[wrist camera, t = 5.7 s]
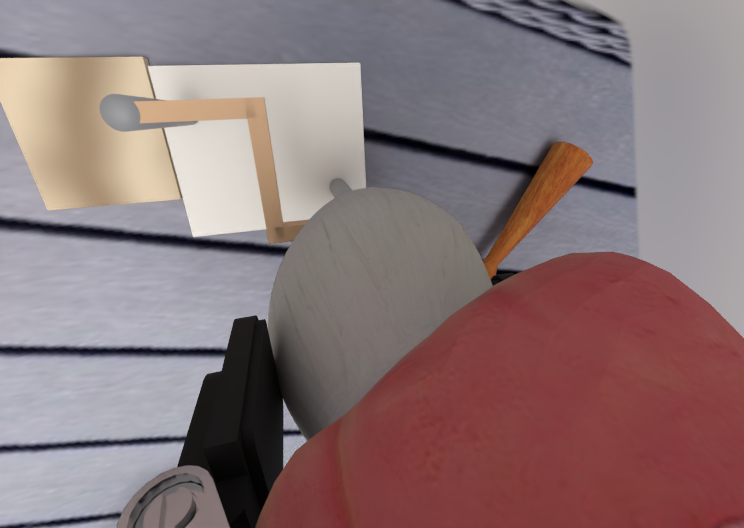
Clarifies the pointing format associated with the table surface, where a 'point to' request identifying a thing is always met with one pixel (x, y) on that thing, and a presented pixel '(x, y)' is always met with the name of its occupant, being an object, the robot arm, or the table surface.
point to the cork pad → (85, 131)
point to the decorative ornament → (495, 384)
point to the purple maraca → (539, 198)
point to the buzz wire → (254, 140)
